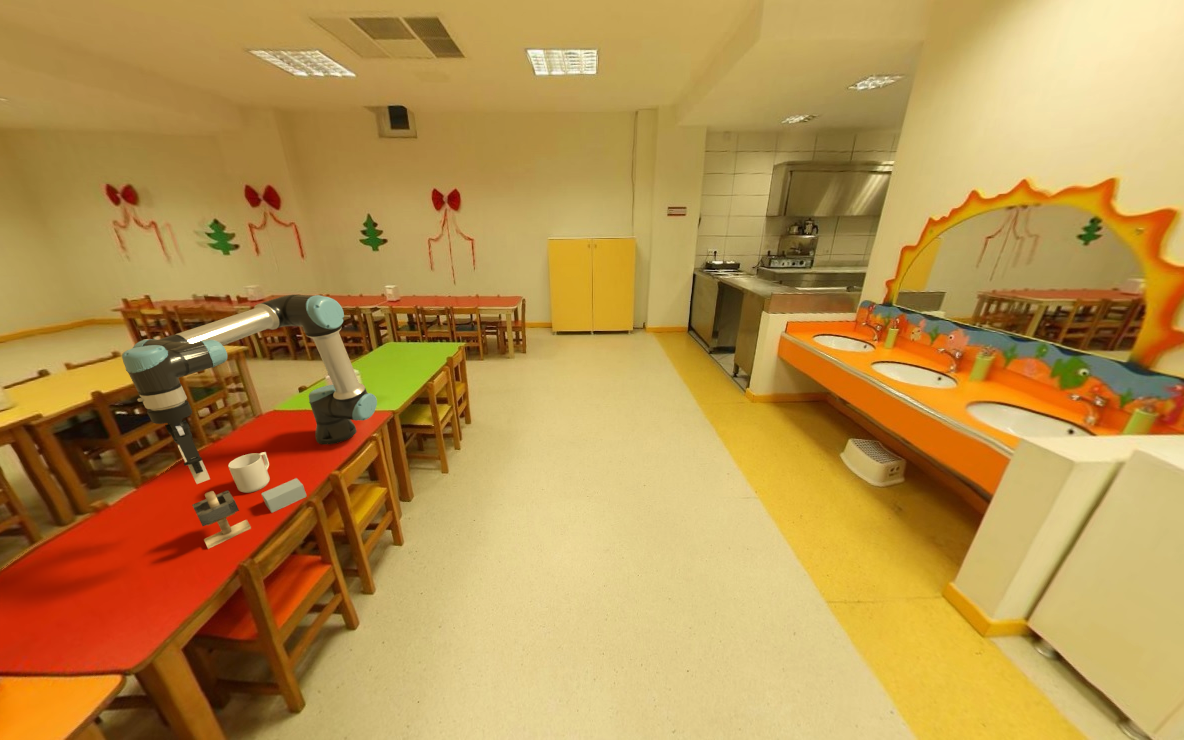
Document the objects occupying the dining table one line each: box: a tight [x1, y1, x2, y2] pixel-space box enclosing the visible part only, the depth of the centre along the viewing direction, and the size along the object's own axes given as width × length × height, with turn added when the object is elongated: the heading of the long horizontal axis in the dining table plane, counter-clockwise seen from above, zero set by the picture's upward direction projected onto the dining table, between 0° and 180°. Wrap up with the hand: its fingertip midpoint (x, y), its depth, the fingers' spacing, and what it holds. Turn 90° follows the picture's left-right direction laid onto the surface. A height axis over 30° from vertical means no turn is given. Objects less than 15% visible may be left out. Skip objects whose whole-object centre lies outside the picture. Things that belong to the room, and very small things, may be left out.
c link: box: [192, 490, 240, 527], centre depth 112 cm, size 8×8×4 cm
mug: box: [228, 451, 271, 494], centre depth 136 cm, size 12×9×11 cm
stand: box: [203, 490, 252, 550], centre depth 113 cm, size 10×6×16 cm, turn 143°
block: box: [261, 477, 308, 513], centre depth 129 cm, size 10×6×5 cm, turn 143°
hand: (198, 471), depth 107 cm, fingers open, 13 cm apart
